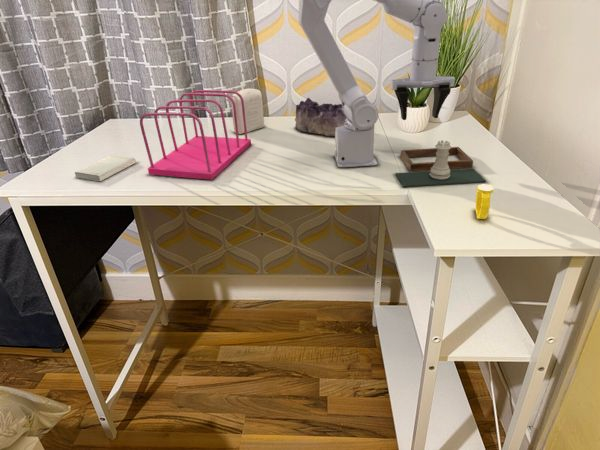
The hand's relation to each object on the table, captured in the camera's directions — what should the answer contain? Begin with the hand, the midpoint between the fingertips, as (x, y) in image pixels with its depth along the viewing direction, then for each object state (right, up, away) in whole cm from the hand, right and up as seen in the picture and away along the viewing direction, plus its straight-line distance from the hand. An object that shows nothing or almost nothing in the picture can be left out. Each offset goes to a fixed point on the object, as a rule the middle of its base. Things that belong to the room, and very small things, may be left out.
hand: (419, 117), depth 105 cm
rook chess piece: (+2, -16, -9) cm, 18 cm away
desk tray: (+4, -11, 0) cm, 11 cm away
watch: (+5, -25, -24) cm, 34 cm away
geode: (-21, +2, +24) cm, 33 cm away
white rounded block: (-45, +3, +29) cm, 54 cm away
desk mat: (+2, -16, -8) cm, 18 cm away
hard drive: (-78, -12, +5) cm, 80 cm away
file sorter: (-55, -9, +9) cm, 56 cm away
